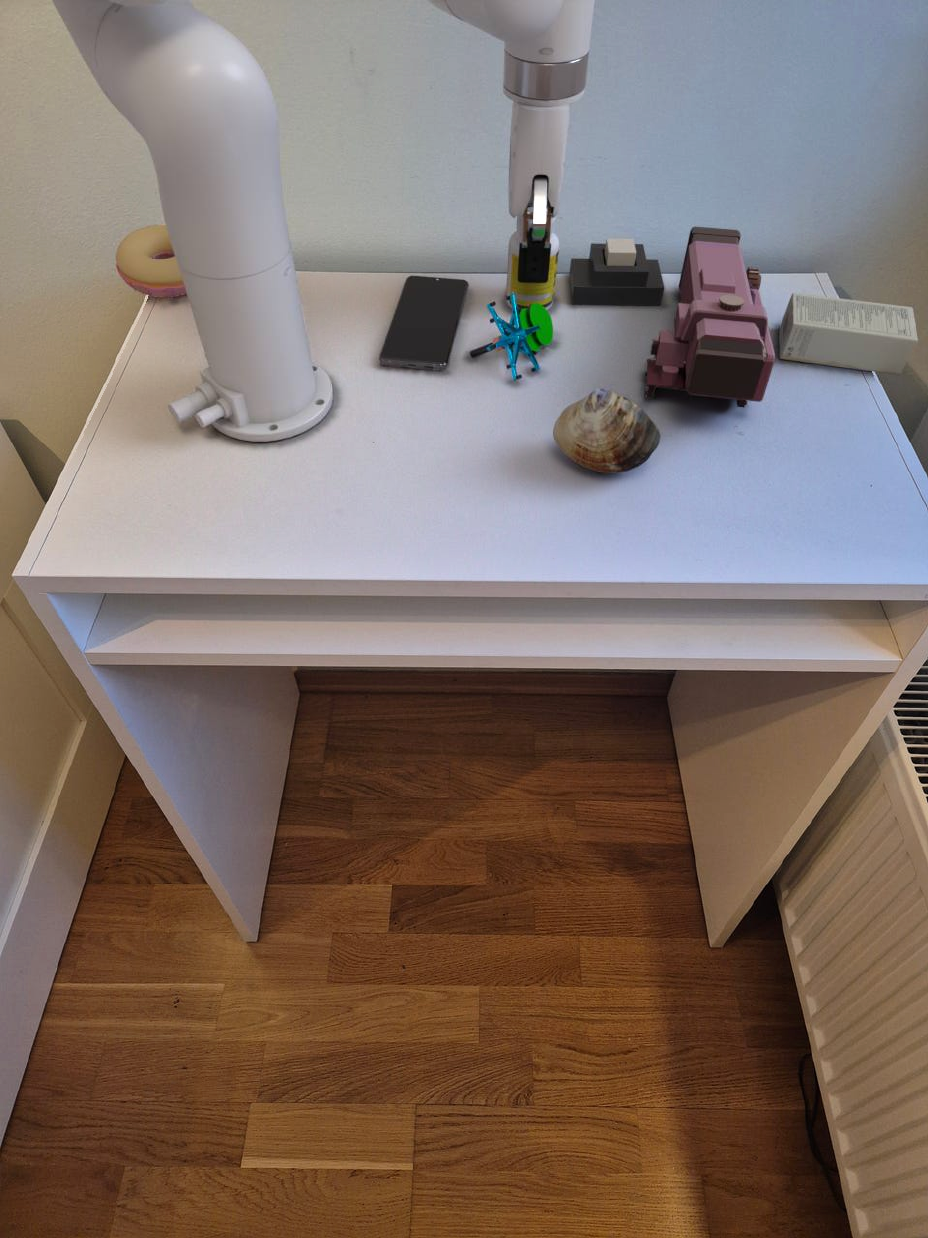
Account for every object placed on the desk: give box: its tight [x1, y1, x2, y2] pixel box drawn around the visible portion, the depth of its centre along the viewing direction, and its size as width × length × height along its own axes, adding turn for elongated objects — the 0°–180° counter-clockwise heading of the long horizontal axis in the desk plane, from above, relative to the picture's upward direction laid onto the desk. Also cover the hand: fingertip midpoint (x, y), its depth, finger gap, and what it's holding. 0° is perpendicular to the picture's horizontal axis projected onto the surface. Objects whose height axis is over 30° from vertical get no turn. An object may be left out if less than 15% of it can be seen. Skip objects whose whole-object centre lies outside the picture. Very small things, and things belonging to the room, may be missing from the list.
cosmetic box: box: [778, 292, 919, 376], centre depth 82 cm, size 6×4×12 cm
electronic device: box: [644, 226, 776, 409], centre depth 79 cm, size 11×27×10 cm, turn 171°
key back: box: [604, 237, 636, 266], centre depth 87 cm, size 3×3×2 cm
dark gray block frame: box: [568, 242, 665, 307], centre depth 89 cm, size 10×6×4 cm, turn 89°
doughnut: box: [115, 224, 187, 299], centre depth 91 cm, size 11×11×4 cm
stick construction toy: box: [469, 294, 554, 381], centre depth 82 cm, size 12×7×8 cm
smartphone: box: [378, 274, 470, 371], centre depth 86 cm, size 7×1×16 cm
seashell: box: [552, 388, 662, 474], centre depth 70 cm, size 10×6×8 cm, turn 70°
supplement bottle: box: [505, 207, 560, 311], centre depth 86 cm, size 5×5×10 cm
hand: (531, 260), depth 86 cm, fingers open, 7 cm apart
